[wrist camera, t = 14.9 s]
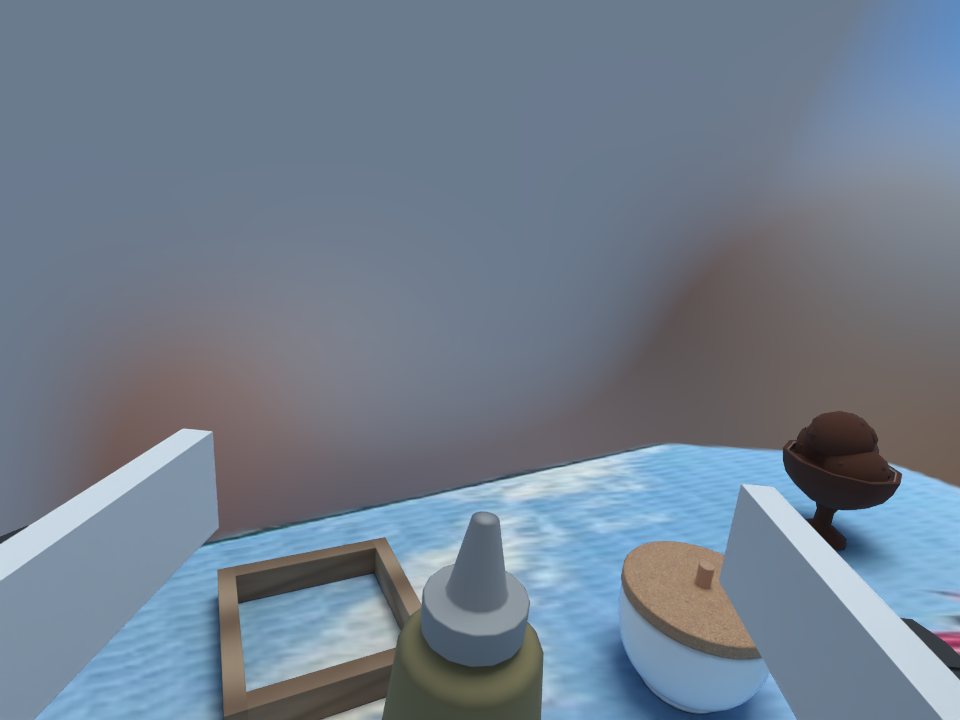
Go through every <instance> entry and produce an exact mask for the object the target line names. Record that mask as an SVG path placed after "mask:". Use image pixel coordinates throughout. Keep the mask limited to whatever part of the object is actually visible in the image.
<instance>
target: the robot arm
mask: <svg viewBox="0 0 960 720" xmlns="http://www.w3.org/2000/svg"><path fill="white" fill-rule="evenodd" d="M218 527H219V525H218V509H217V493H216V478H215V462H214V447H213V432H212V431H201V430H192V429H182V430H180V431H179V432H177V433H175V434H174V435H172V436H171V437H169V438H167V439H166V440H164V441H163V442H161V443H159V444H158V445H156V446H155V447H153V448H152V449H150V450H149V451H147V452H145V453H144V454H142V455H141V456H139V457H137V458H136V459H134V460H133V461H131V462H130V463H128V464H126V465H125V466H123V467H122V468H120V469H118V470H117V471H115V472H114V473H112V474H110V475H109V476H108V477H106V478H104V479H103V480H101V481H100V482H98V483H96V484H95V485H93V486H92V487H90V488H89V489H87V490H85V491H84V492H82V493H81V494H79V495H77V496H76V497H74V498H73V499H71V500H70V501H68V502H66V503H65V504H63V505H62V506H60V507H58V508H57V509H55V510H54V511H52V512H50V513H49V514H47V515H46V516H44V517H43V518H41V519H39V520H38V521H36V522H35V523H33V524H31V525H30V526H25V527H23V528H20V529H18V530H16V531H13V532H11V533H8V534H6V535H3V536H1V537H0V720H34V719H35V718H36V717H37V716H38V715H39V714H40V713H41V712H42V711H43V710H44V709H45V708H46V707H47V706H48V705H49V704H50V703H51V702H52V701H53V700H54V698H55V697H56V696H57V695H58V694H59V693H60V692H61V691H62V690H63V689H64V688H65V687H66V686H67V685H68V684H69V683H70V682H71V681H72V680H73V679H74V678H75V677H76V676H77V675H78V673H79V672H80V671H81V670H82V669H83V668H84V667H85V666H86V665H87V664H88V663H89V662H90V661H91V660H92V659H93V658H94V657H95V656H96V655H97V654H98V653H99V652H100V651H101V649H102V648H103V647H104V646H105V645H106V644H107V643H108V642H109V641H110V640H111V639H112V638H113V637H114V636H115V635H116V634H117V633H118V632H119V631H120V630H121V629H122V628H123V627H124V626H125V624H126V623H127V622H128V621H129V620H130V619H131V618H132V617H133V616H134V615H135V614H136V613H137V612H138V611H139V610H140V609H141V608H142V607H143V606H144V605H145V604H146V603H147V602H148V600H149V599H150V598H151V597H152V596H153V595H154V594H155V593H156V592H157V591H158V590H159V589H160V588H161V587H162V586H163V585H164V584H165V583H166V582H167V581H168V580H169V579H170V578H171V577H172V575H173V574H174V573H175V572H176V571H177V570H178V569H179V568H180V567H181V566H182V565H183V564H184V563H185V562H186V561H187V560H188V559H189V558H190V557H191V556H192V555H193V554H194V553H195V551H196V550H197V549H198V548H199V547H200V546H201V545H202V544H203V543H204V542H205V541H206V540H207V539H208V538H209V537H210V536H211V535H212V534H213V532H215V531H216V530H217V529H218ZM719 582H720V584H721V586H722V587H723V589H724V591H725V593H726V595H727V596H728V598H729V600H730V602H731V603H732V605H733V607H734V609H735V610H736V612H737V614H738V616H739V618H740V619H741V621H742V623H743V625H744V626H745V628H746V630H747V632H748V634H749V635H750V637H751V639H752V641H753V642H754V644H755V646H756V648H757V650H758V651H759V653H760V655H761V657H762V658H763V660H764V662H765V664H766V665H767V667H768V669H769V671H770V673H771V674H772V676H773V678H774V680H775V681H776V683H777V685H778V687H779V689H780V690H781V692H782V694H783V696H784V697H785V699H786V701H787V703H788V704H789V706H790V708H791V710H792V712H793V713H794V715H795V717H796V719H797V720H960V656H959V655H958V654H957V653H956V652H955V651H954V650H953V649H952V648H951V647H950V646H949V645H948V644H947V643H946V642H945V641H943V640H942V639H940V638H939V637H937V636H936V635H934V634H933V633H931V632H930V631H929V630H927V629H926V628H924V627H923V626H921V625H920V624H918V623H917V622H915V621H914V620H912V619H905V618H899V617H898V615H897V614H896V613H895V612H894V611H893V610H892V609H891V608H890V607H889V606H888V605H887V604H886V603H885V602H884V601H883V600H882V599H881V598H880V597H879V596H878V595H877V594H876V593H875V592H874V591H873V590H872V589H871V588H870V586H869V585H868V584H867V583H866V582H865V581H864V580H863V579H862V578H861V577H860V576H859V575H858V574H857V573H856V572H855V571H854V570H853V569H852V568H851V567H850V566H849V565H848V564H847V563H846V562H845V561H844V560H843V559H842V557H841V556H840V555H839V554H838V553H837V552H836V551H835V550H834V549H833V548H832V547H831V546H830V545H829V544H828V543H827V542H826V541H825V540H824V539H823V538H822V537H821V536H820V535H819V534H818V533H817V532H816V531H815V529H814V528H813V527H812V526H811V525H810V524H809V523H808V522H807V521H806V520H805V519H804V518H803V517H802V516H801V515H800V514H799V513H798V512H797V511H796V510H795V509H794V508H793V507H792V506H791V505H790V504H789V503H788V502H787V500H786V499H785V498H784V497H783V496H782V495H781V494H780V493H779V492H778V491H777V490H776V489H775V488H774V487H768V486H758V485H748V484H741V487H740V491H739V496H738V500H737V504H736V508H735V513H734V517H733V521H732V526H731V530H730V534H729V538H728V543H727V547H726V551H725V556H724V560H723V564H722V568H721V573H720V577H719Z"/></svg>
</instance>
